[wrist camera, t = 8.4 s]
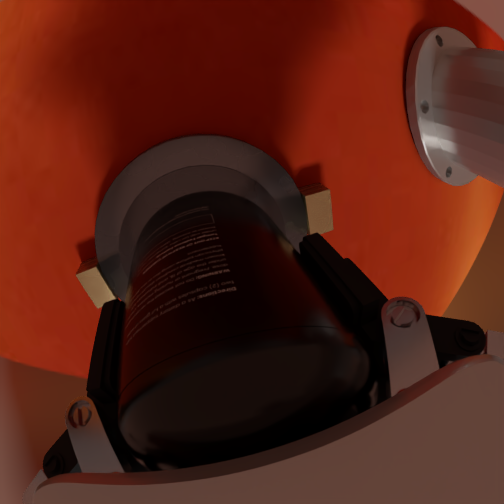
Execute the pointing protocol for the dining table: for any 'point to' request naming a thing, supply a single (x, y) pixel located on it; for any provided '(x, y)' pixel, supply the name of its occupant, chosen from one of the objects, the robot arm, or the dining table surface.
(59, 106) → the dining table surface
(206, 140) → the base
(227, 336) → the supplement bottle
